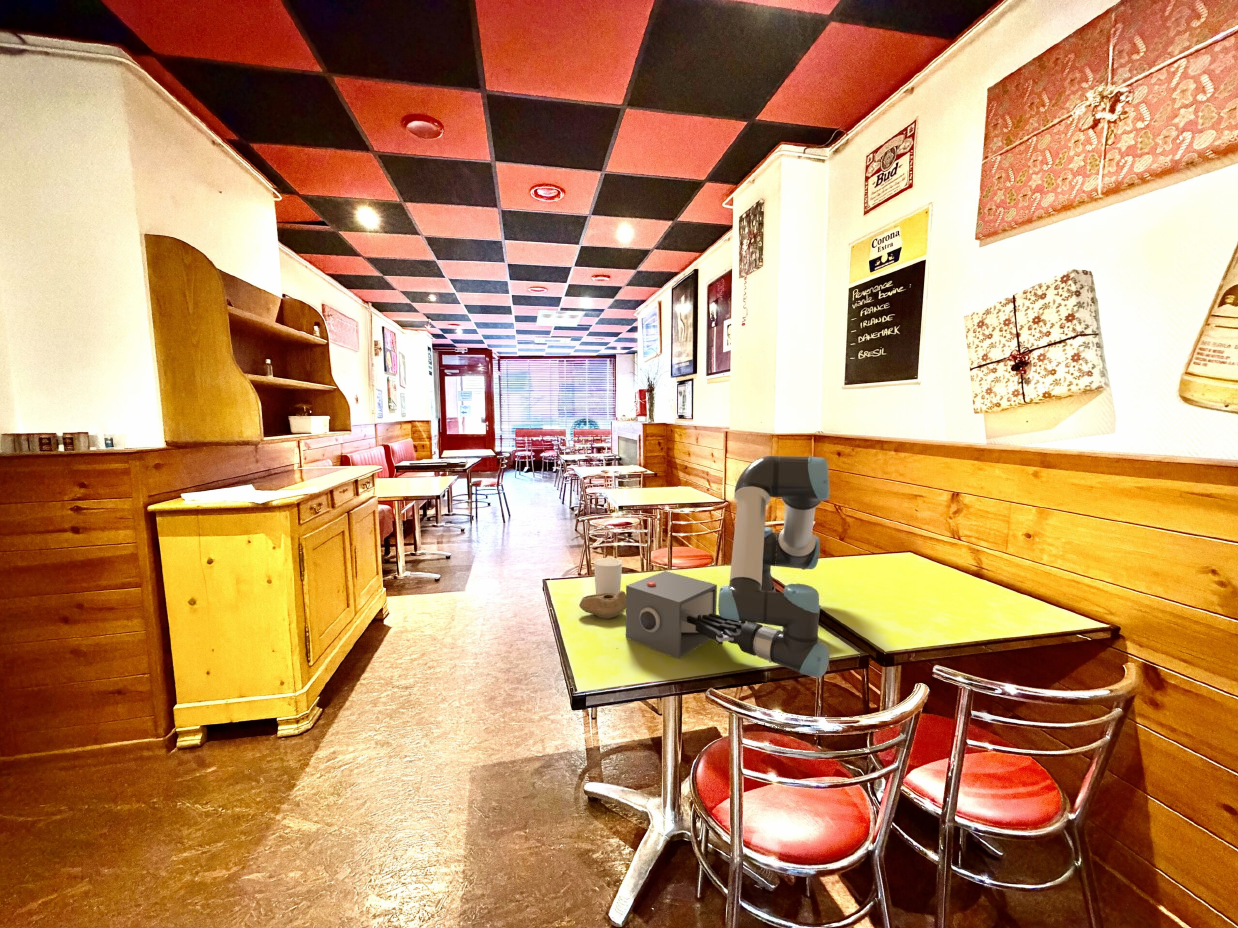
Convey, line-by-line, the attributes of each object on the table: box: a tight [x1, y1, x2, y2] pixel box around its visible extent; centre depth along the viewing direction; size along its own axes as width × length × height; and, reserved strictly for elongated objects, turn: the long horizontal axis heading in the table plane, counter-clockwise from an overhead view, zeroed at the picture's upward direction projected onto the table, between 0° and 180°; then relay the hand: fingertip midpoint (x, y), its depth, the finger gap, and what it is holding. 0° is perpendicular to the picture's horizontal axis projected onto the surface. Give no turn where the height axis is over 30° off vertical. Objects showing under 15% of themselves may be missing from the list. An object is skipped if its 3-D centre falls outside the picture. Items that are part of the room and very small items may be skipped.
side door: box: [681, 591, 713, 632], centre depth 134 cm, size 15×1×12 cm, turn 91°
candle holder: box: [593, 557, 623, 595], centre depth 167 cm, size 10×10×12 cm
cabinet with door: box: [625, 570, 718, 660], centre depth 134 cm, size 20×18×16 cm
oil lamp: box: [578, 590, 626, 620], centre depth 150 cm, size 11×15×8 cm
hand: (680, 613), depth 133 cm, fingers closed
